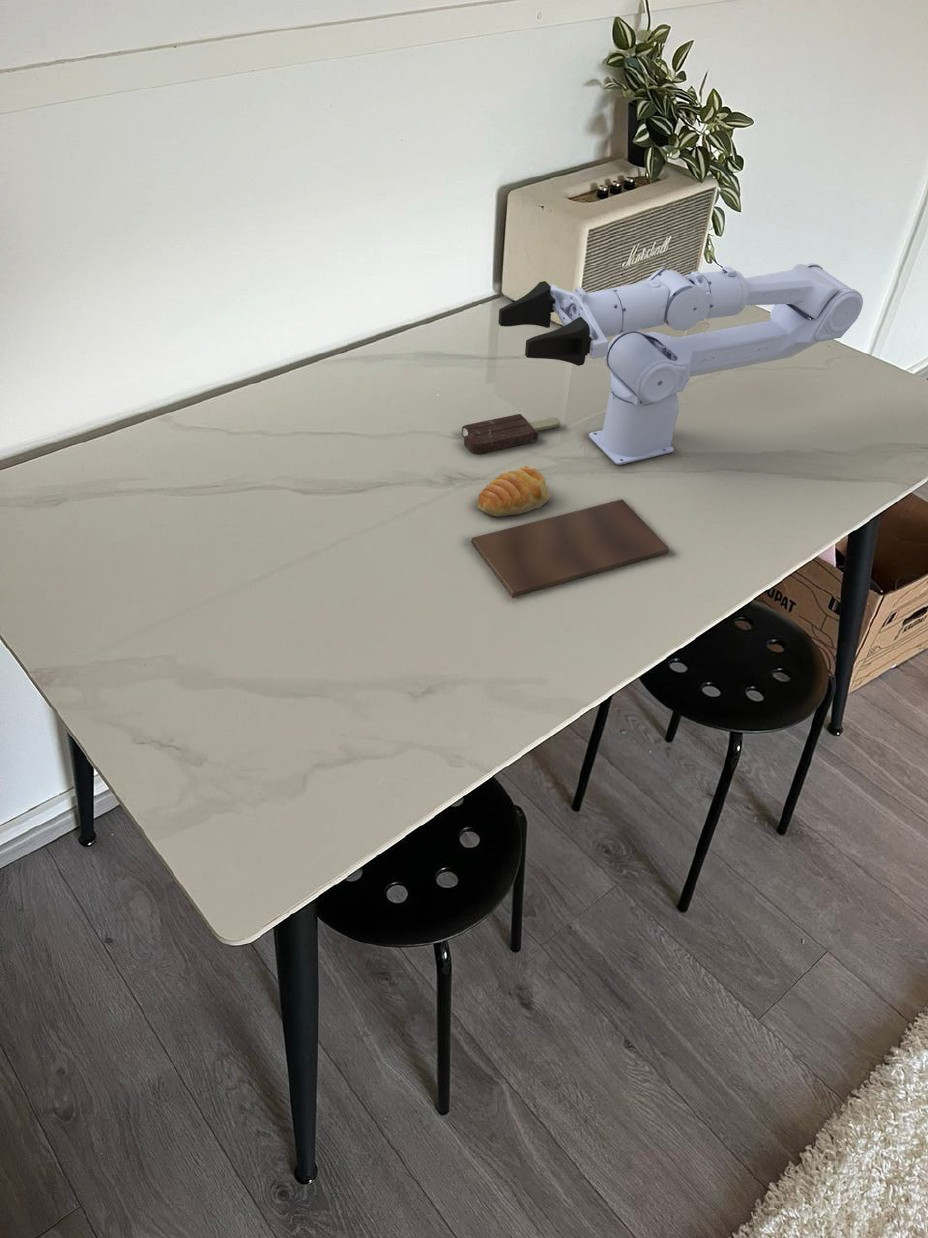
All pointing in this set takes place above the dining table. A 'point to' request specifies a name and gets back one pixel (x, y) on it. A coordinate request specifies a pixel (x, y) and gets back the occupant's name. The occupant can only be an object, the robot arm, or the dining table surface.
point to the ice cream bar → (503, 433)
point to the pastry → (514, 493)
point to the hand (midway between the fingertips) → (512, 332)
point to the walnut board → (568, 547)
